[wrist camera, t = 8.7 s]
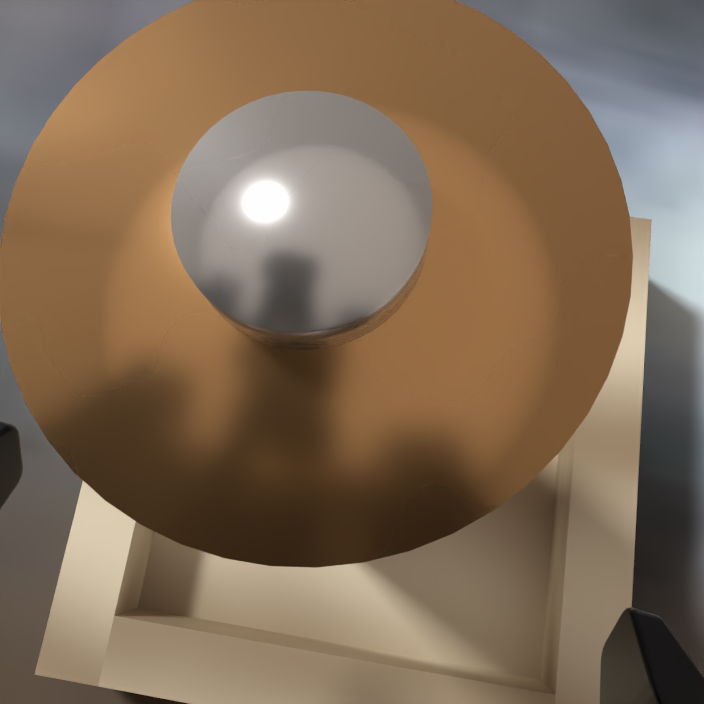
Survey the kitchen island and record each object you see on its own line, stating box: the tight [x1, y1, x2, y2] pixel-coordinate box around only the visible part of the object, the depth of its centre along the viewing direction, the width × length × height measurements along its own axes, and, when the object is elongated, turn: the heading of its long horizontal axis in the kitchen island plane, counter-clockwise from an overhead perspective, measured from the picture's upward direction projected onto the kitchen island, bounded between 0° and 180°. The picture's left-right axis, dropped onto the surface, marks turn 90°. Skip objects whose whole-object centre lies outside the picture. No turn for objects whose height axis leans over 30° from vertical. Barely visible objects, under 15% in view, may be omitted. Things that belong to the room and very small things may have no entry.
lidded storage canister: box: [0, 0, 633, 568], centre depth 11 cm, size 5×5×13 cm
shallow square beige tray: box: [35, 217, 651, 704], centre depth 17 cm, size 13×13×2 cm
